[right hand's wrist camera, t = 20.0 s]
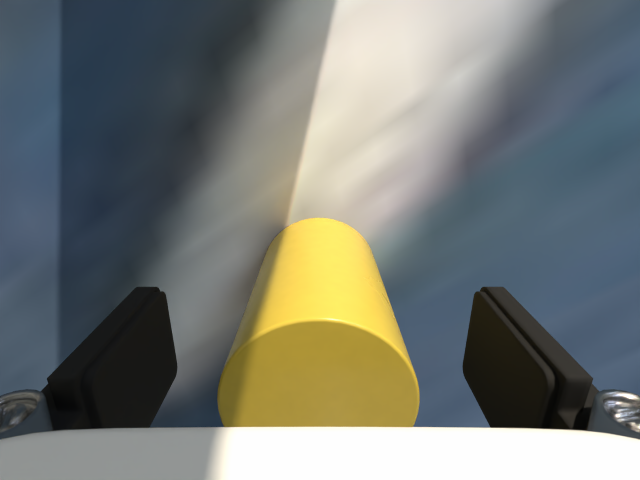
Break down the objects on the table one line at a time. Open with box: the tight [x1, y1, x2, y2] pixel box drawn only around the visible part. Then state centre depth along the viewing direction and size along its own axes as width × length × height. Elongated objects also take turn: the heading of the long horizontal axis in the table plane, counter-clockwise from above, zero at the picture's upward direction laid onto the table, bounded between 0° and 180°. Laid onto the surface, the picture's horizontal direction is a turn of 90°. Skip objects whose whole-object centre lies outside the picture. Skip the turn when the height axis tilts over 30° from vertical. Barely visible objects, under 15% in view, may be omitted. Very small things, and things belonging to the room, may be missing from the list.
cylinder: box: [217, 218, 420, 427], centre depth 13 cm, size 5×5×8 cm
